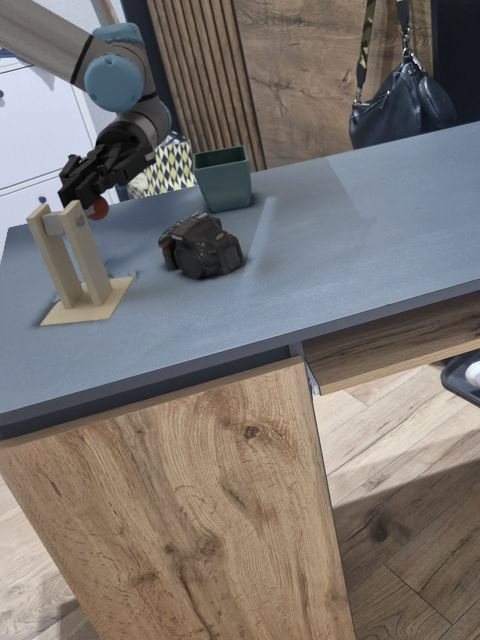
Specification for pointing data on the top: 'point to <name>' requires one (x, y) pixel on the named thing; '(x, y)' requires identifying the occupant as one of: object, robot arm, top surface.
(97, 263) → the stand
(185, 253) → the camera
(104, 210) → the lever
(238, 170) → the flower pot
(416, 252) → the top surface
